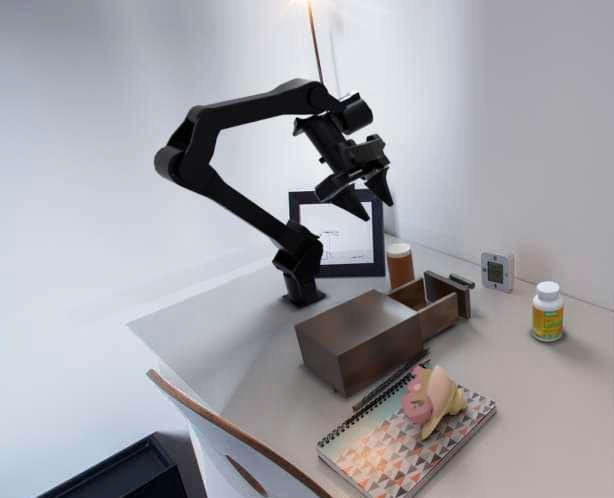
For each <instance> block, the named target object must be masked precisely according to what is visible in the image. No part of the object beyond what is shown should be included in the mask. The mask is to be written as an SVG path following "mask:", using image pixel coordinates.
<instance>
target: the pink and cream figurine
mask: <svg viewBox="0 0 614 498" xmlns="http://www.w3.org/2000/svg"><path fill="white" fill-rule="evenodd" d="M410 376H413V377H414V378H413V379H411V380H409V381H408V385H407V387H406V392H407V393H406V394H403V395H402V397H401V403H402V409H403V410H402V411H403V412H404V415H405V418H406V419H407V420H408V421H409V422H413V423H414V424H415V425H422V424H424V425H423V427H422V431H421V440H425V439H427V438H428V437H429V436H430V435H431V434H432V433H433V431H434V430H435V428H436V426H438V424H439V423H440V421H441V420H442V418H443V417H444V416H445V415H447V414H449V415H450V416H453V415H454V416H456V415H457V414H458V413H459V412H460V410H465V409H466V408H467V407H468V405H469V403H468V401H467V400H466V399H465V395H466V394H465V391H464V390H463V389H462V388H458V386H457V382H456V380H454V381H453V379H452V378H450V377H449V375H448V373H447V371H445V369H444V368H443V367H442V366H440V365H439V364H436V366H435V367H434V368H423V367H421V366H420V364H418V365H416V367H415V368H413V370H412V371H411V372H410ZM412 404H416V405H418V406H416V407H414V408H413V405H412Z"/></svg>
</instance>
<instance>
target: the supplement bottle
mask: <svg viewBox="0 0 614 498" xmlns="http://www.w3.org/2000/svg"><path fill="white" fill-rule="evenodd" d="M564 302H565V300H564V298H563V296H562V295H561V286H560V285H559V283H557V282H555V281H548V280H547V281H541V282H539V283H538V284H537V285H536V294H535V296H533V298H532V327H531V329H532V330H531V331H532V336H533V337H534V338H535V339H536V340H539V341H541V342H546V343H547V342H548V343H549V342H555V341H557V340H559V339H560V338H562V336H563V327H564V305H565V303H564Z"/></svg>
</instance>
